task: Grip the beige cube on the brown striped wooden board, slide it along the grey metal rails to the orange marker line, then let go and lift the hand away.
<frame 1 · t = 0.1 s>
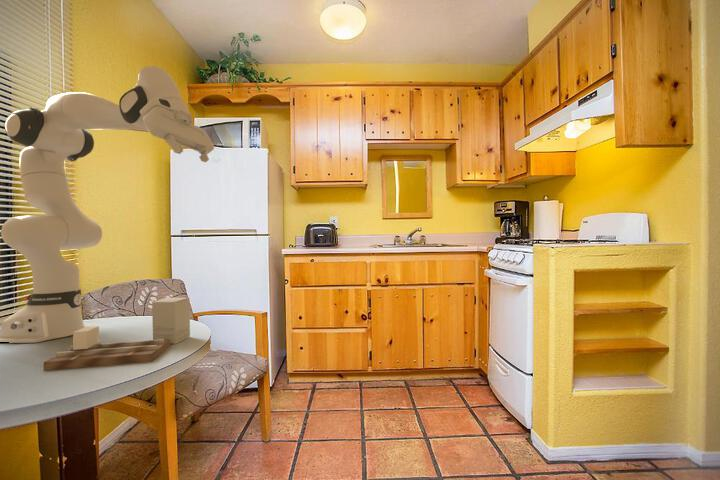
hand: (193, 156, 89), 54 cm above the table, tool tilted 30°, fingers open, 8 cm apart
brown striped wooden board: (113, 357, 83), on the table
beige cube: (86, 339, 82), point 5 cm above the table, slide at 2.0 cm
supplement box: (171, 341, 97), on the table
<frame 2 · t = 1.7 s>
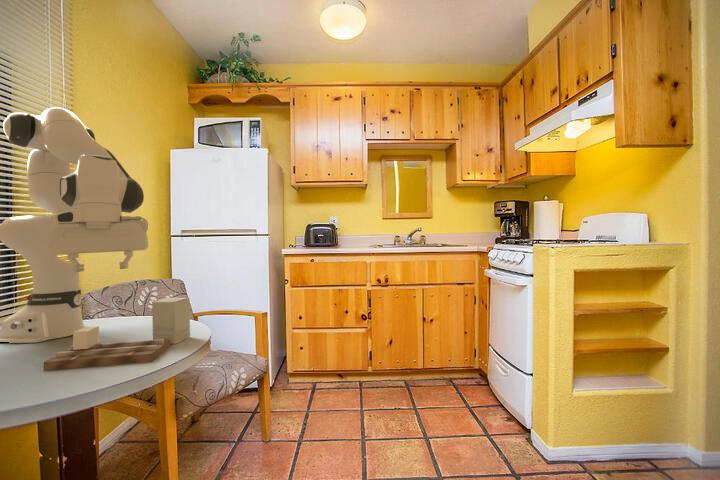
hand: (102, 270, 81), 23 cm above the table, tool pointing down, fingers open, 8 cm apart
nothing on the table moved.
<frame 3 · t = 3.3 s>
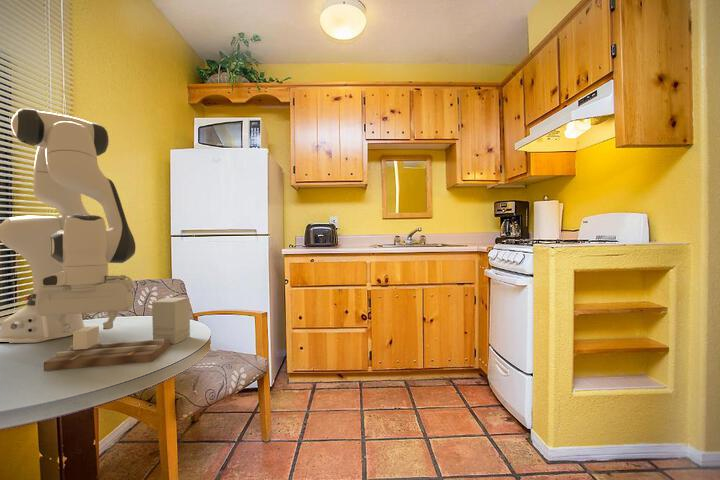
hand: (87, 330, 81), 8 cm above the table, tool pointing down, fingers open, 8 cm apart
nothing on the table moved.
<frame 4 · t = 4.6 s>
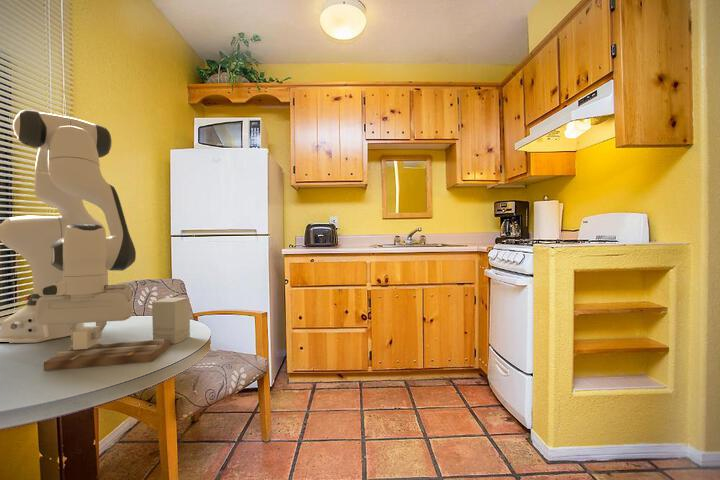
hand: (86, 339, 82), 5 cm above the table, tool pointing down, fingers closed on beige cube, 3 cm apart
beige cube: (86, 339, 82), point 5 cm above the table, slide at 2.0 cm, touching gripper
everything else where it was.
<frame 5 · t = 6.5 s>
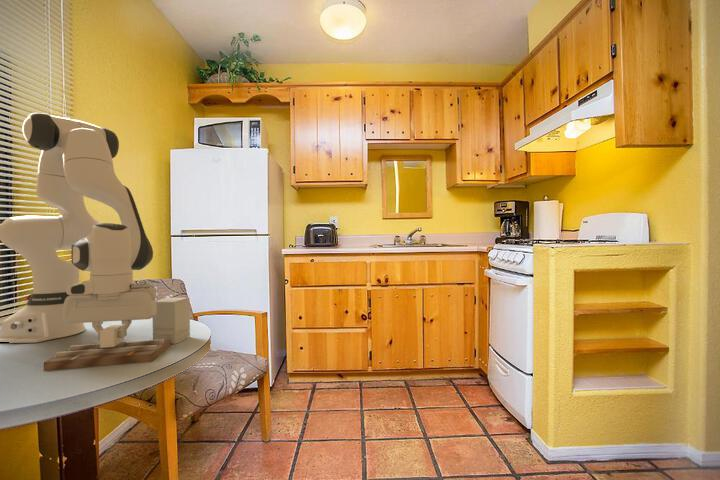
hand: (112, 337, 83), 5 cm above the table, tool pointing down, fingers closed on beige cube, 3 cm apart
beige cube: (112, 337, 83), point 5 cm above the table, slide at 7.9 cm, touching gripper
everything else where it was.
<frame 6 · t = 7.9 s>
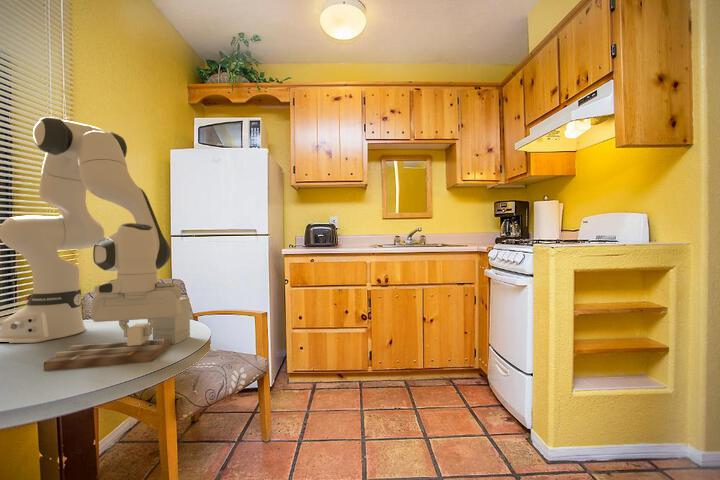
hand: (138, 335, 84), 5 cm above the table, tool pointing down, fingers closed on beige cube, 3 cm apart
beige cube: (138, 336, 84), point 5 cm above the table, slide at 13.9 cm, touching gripper
everything else where it was.
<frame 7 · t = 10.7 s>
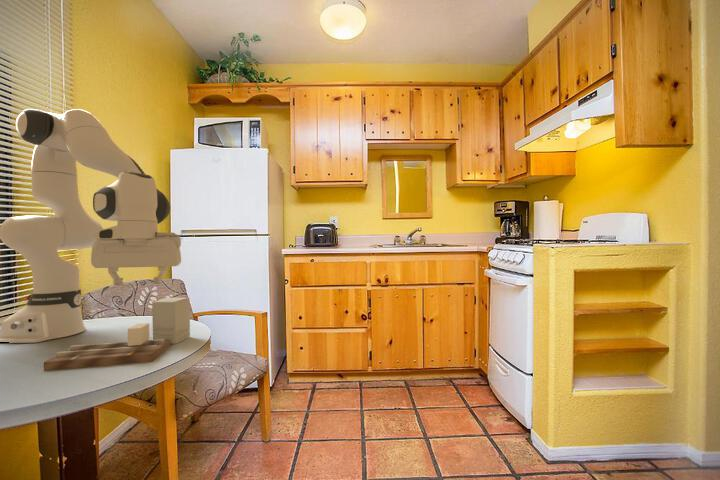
hand: (138, 284, 85), 19 cm above the table, tool pointing down, fingers open, 8 cm apart
beige cube: (138, 335, 84), point 5 cm above the table, slide at 14.0 cm
everything else where it was.
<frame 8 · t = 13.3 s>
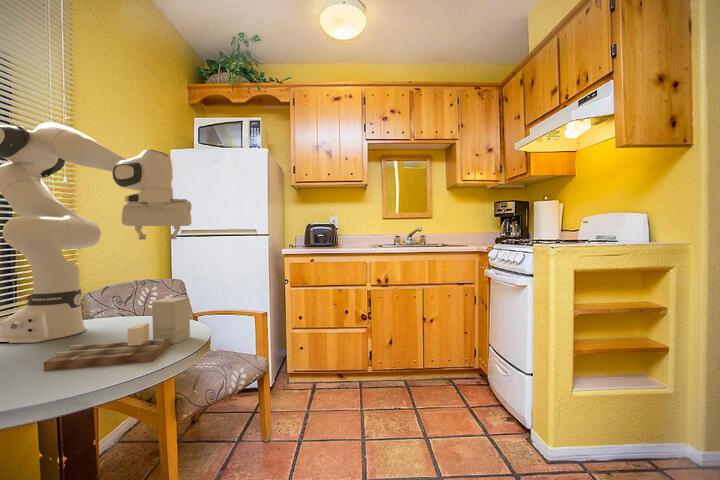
hand: (158, 239, 107), 31 cm above the table, tool pointing down, fingers open, 8 cm apart
nothing on the table moved.
at the end: beige cube slide at 14.0 cm; the gripper is holding nothing; supplement box moved 0.2 cm from its start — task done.
